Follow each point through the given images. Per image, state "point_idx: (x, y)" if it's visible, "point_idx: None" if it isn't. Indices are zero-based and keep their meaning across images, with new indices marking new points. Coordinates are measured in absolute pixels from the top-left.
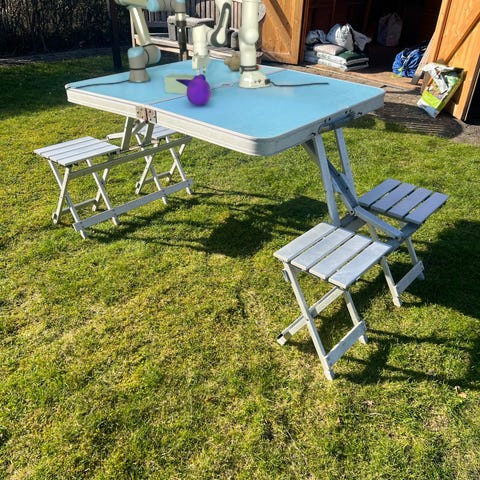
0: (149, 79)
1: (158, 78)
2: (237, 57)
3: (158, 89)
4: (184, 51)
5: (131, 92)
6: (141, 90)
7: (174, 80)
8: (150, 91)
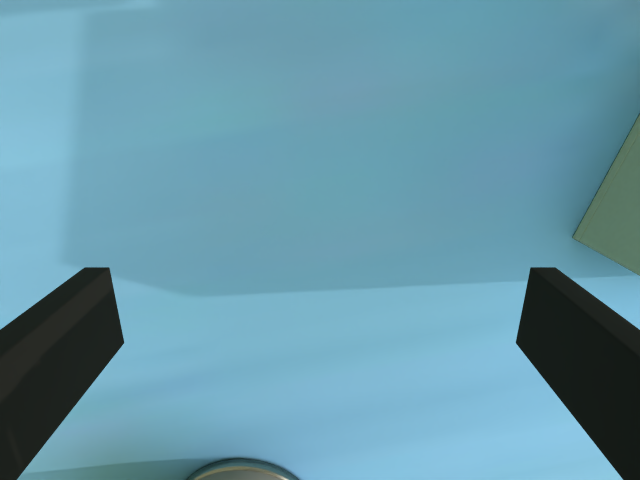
0: (222, 465)
1: (139, 420)
2: None
3: None
4: (114, 322)
5: (602, 477)
6: (555, 438)
7: None
8: None
